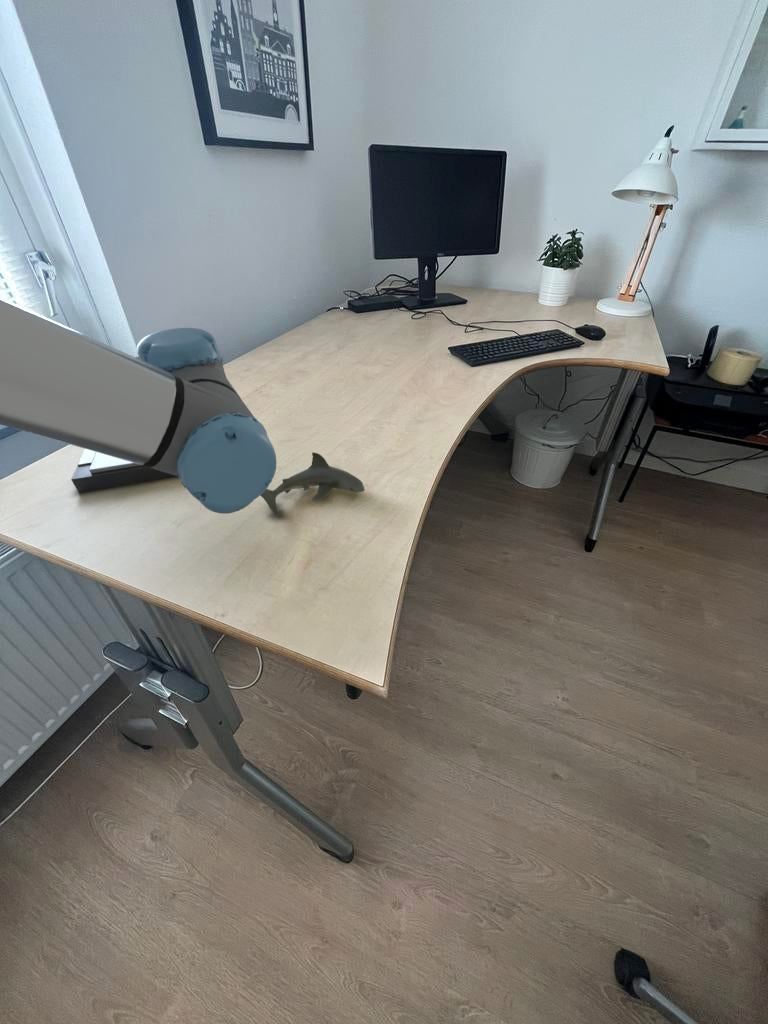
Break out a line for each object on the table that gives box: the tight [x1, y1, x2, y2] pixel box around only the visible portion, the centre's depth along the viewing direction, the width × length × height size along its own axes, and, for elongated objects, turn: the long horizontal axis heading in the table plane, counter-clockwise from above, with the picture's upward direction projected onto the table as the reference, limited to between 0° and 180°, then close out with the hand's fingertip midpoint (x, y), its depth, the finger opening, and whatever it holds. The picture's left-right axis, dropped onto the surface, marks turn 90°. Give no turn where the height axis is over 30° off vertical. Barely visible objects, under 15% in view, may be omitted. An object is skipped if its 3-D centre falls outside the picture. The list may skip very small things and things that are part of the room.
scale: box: [70, 448, 177, 494], centre depth 86 cm, size 20×16×4 cm
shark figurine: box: [259, 452, 366, 517], centre depth 75 cm, size 14×17×8 cm
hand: (144, 382), depth 73 cm, fingers closed on coffee mug, 4 cm apart
